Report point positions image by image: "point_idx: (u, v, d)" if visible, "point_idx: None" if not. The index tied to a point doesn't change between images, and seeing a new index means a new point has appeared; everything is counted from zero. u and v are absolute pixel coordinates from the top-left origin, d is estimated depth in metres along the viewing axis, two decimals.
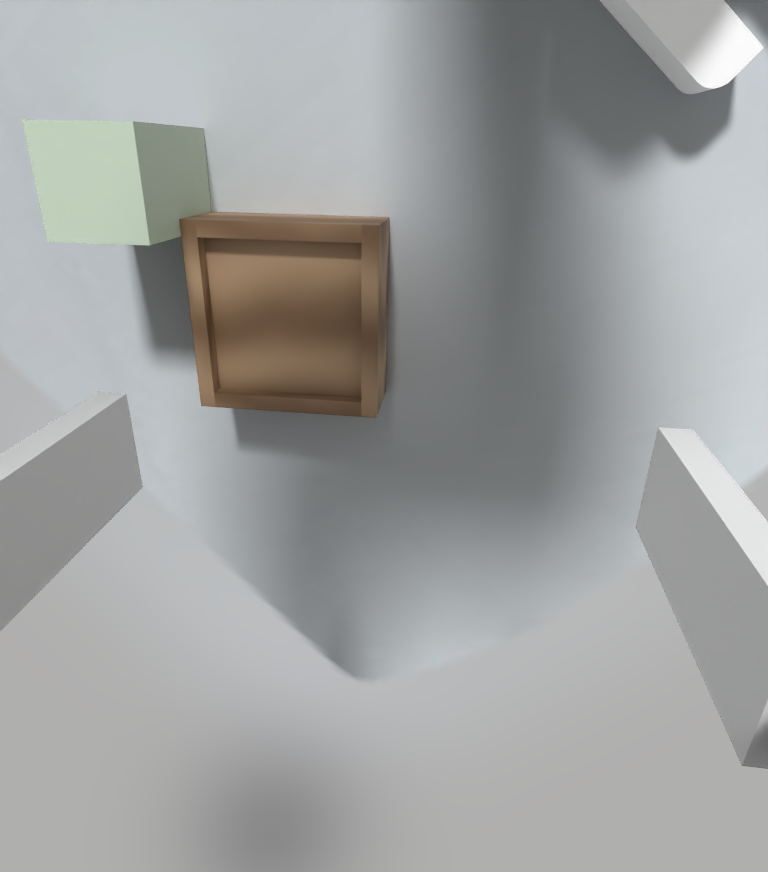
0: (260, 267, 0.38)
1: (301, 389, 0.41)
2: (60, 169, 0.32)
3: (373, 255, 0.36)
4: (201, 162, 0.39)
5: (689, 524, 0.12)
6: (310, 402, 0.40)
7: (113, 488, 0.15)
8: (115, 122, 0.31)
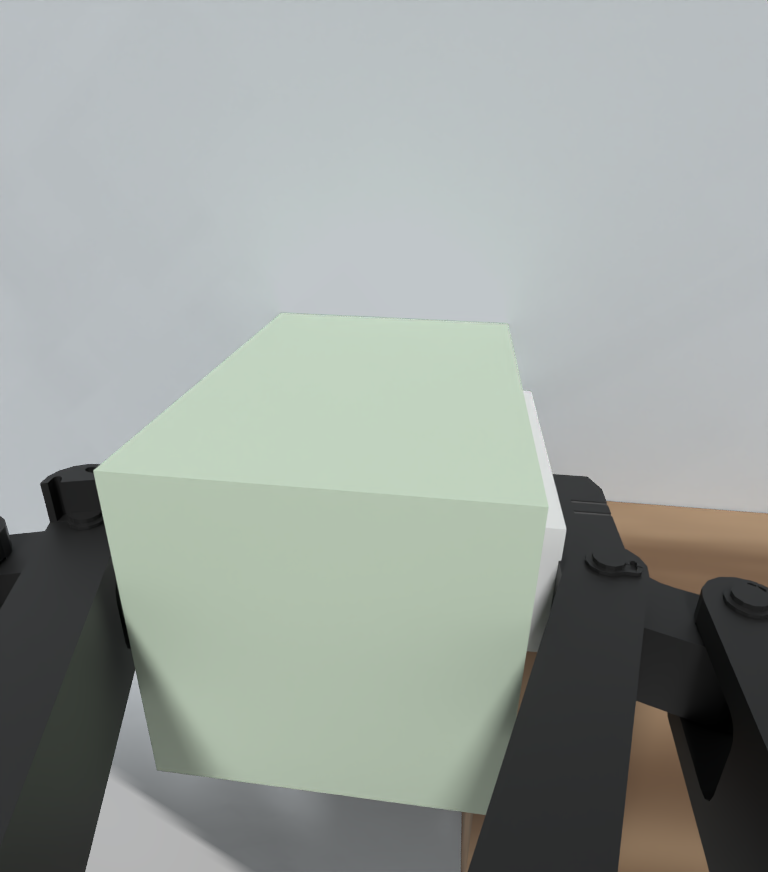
0: None
1: None
2: (224, 615, 0.09)
3: None
4: None
5: None
6: None
7: None
8: (472, 504, 0.08)
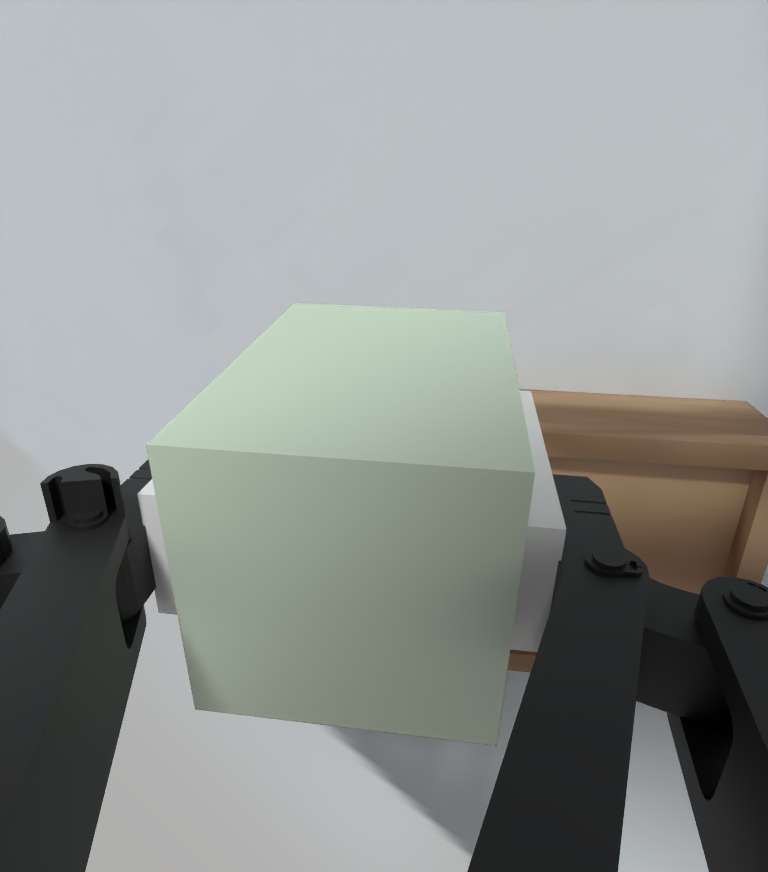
0: None
1: None
2: (257, 570, 0.10)
3: None
4: None
5: None
6: None
7: None
8: (470, 471, 0.09)
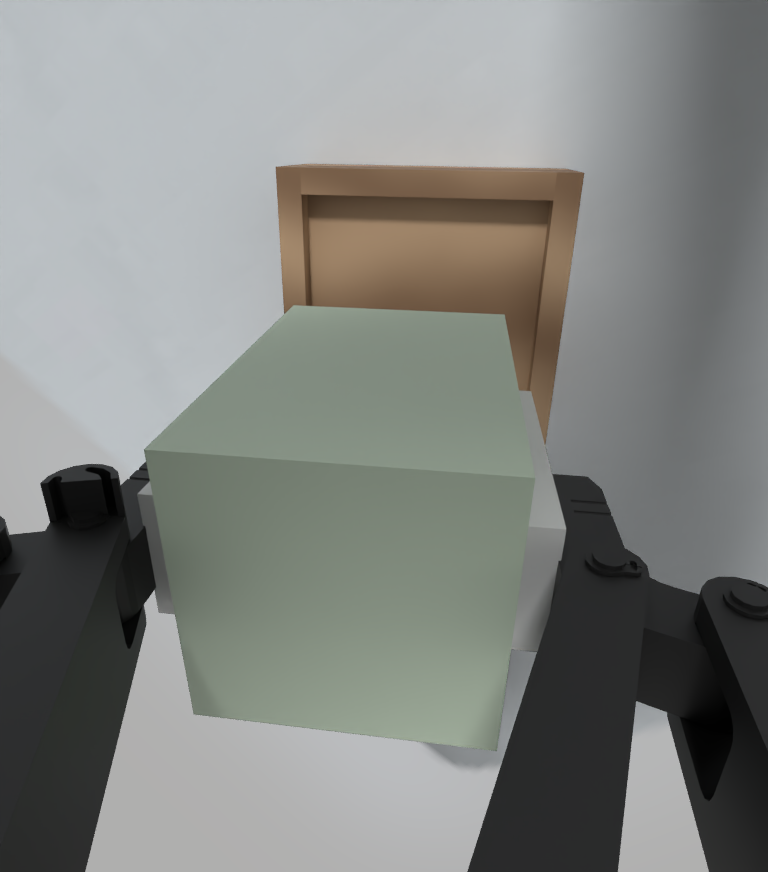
0: (388, 240, 0.26)
1: None
2: (256, 575, 0.10)
3: (569, 219, 0.24)
4: None
5: None
6: None
7: None
8: (470, 476, 0.09)
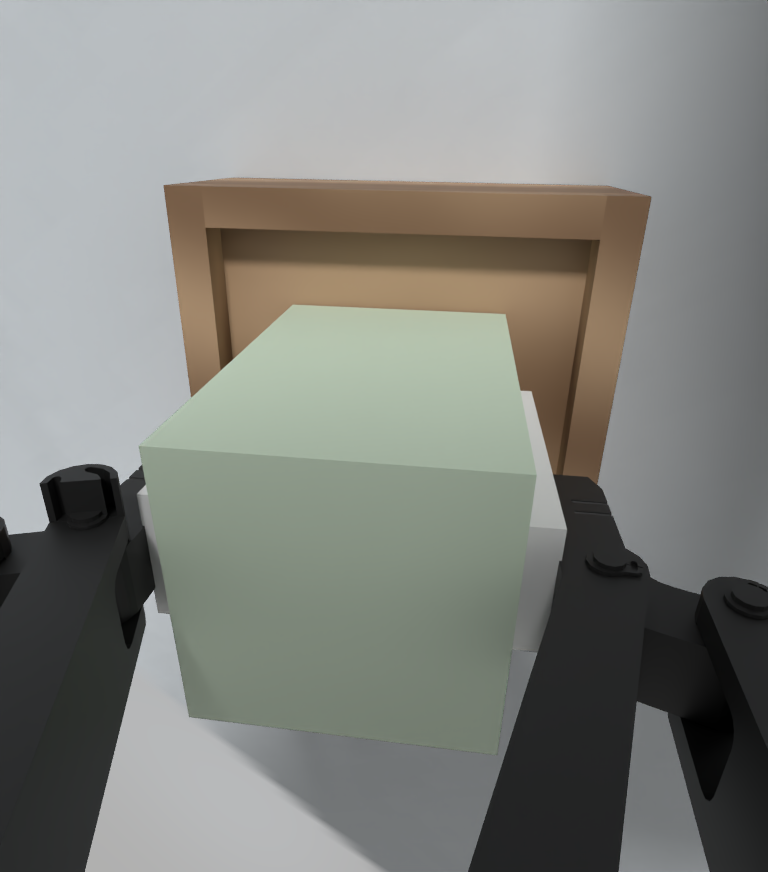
0: (343, 295, 0.17)
1: None
2: (252, 574, 0.10)
3: (625, 269, 0.15)
4: None
5: None
6: None
7: None
8: (470, 473, 0.09)
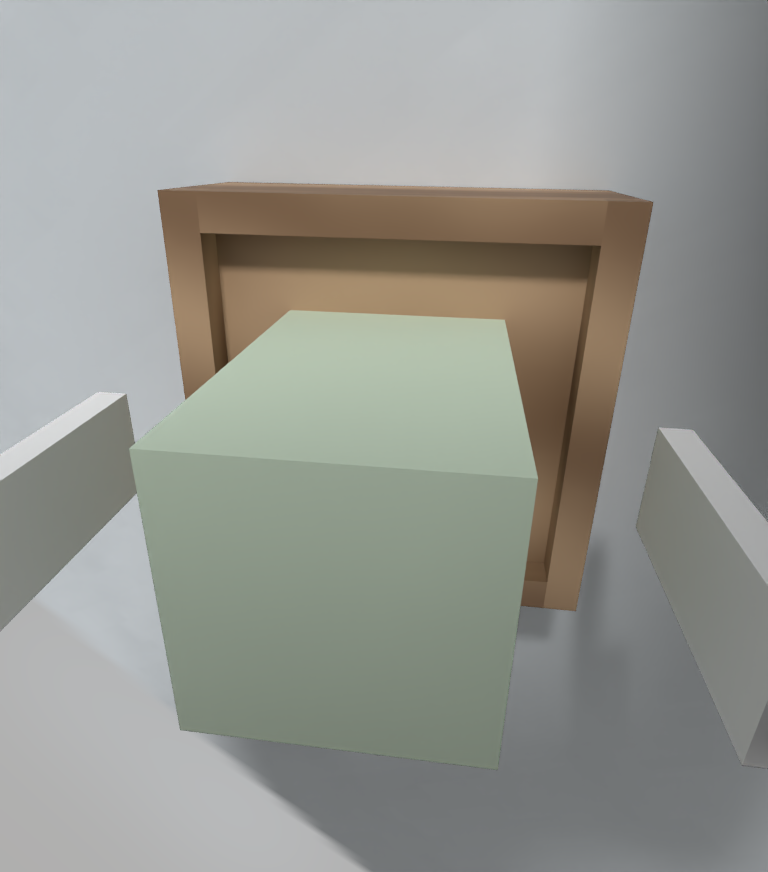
0: (340, 301, 0.17)
1: None
2: (245, 581, 0.10)
3: (627, 275, 0.15)
4: None
5: (690, 524, 0.12)
6: None
7: (113, 488, 0.15)
8: (470, 477, 0.09)
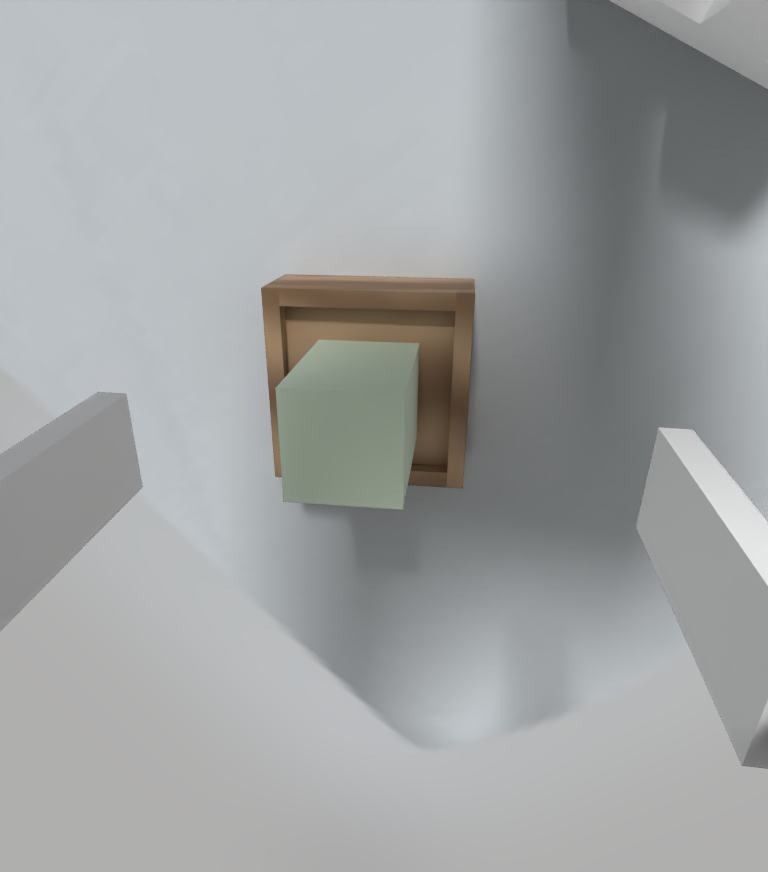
0: (343, 335, 0.36)
1: None
2: (311, 435, 0.29)
3: (467, 323, 0.34)
4: (417, 380, 0.35)
5: (689, 524, 0.12)
6: None
7: (113, 488, 0.15)
8: (384, 394, 0.27)
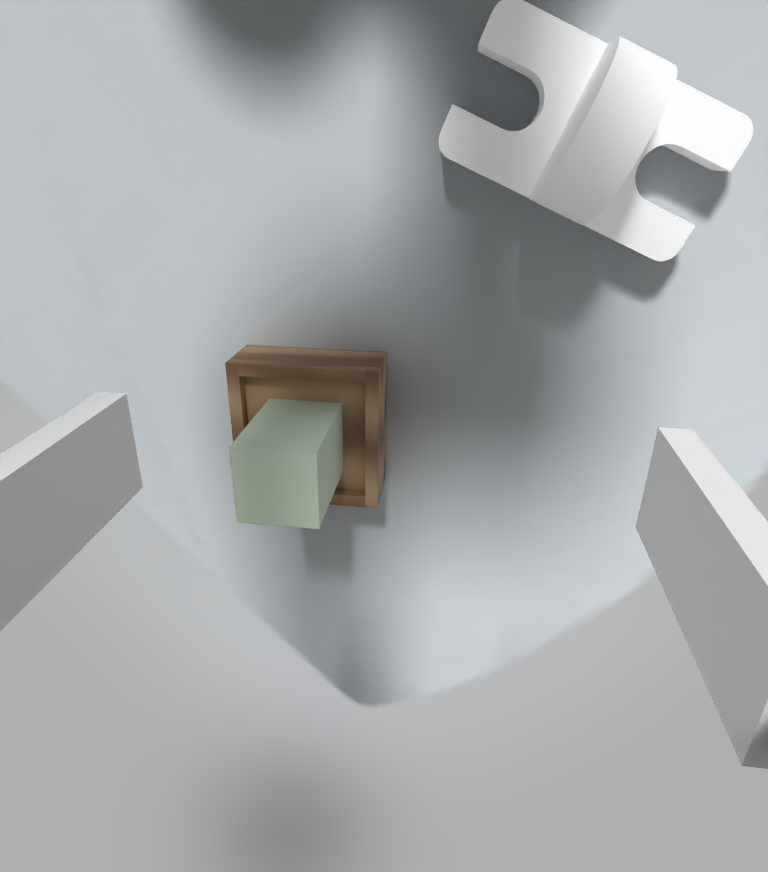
0: (286, 395, 0.49)
1: None
2: (254, 478, 0.42)
3: (374, 392, 0.46)
4: (340, 430, 0.48)
5: (689, 524, 0.12)
6: None
7: (113, 488, 0.15)
8: (302, 452, 0.40)
